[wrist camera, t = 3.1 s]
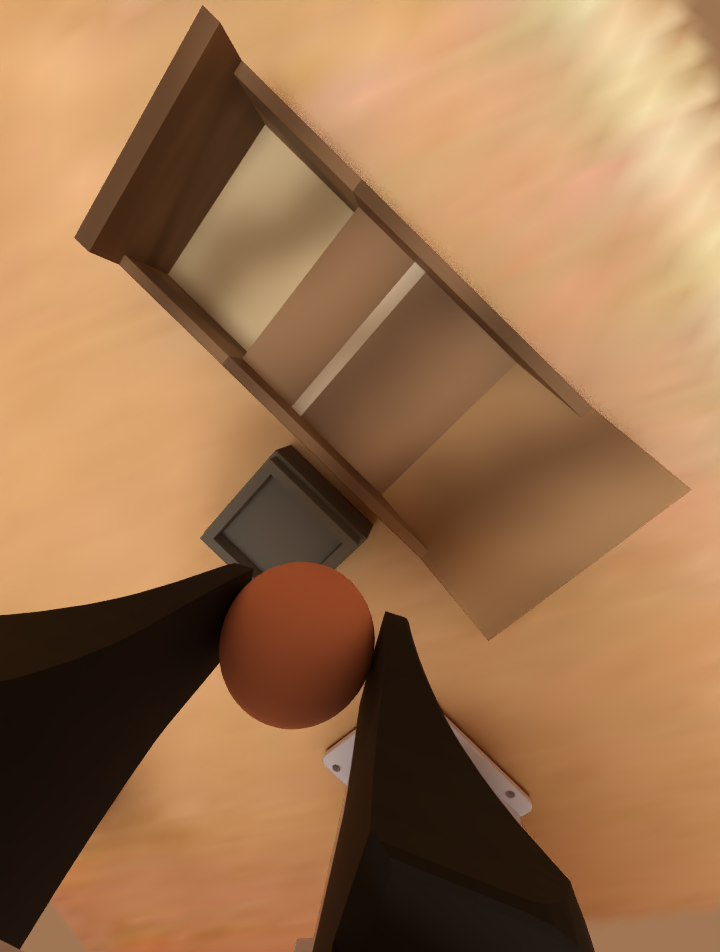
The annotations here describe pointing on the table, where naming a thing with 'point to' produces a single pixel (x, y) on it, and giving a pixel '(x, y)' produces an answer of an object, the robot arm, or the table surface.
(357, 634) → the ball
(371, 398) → the lane
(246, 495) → the grey square tray
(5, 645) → the robot arm
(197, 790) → the table surface
